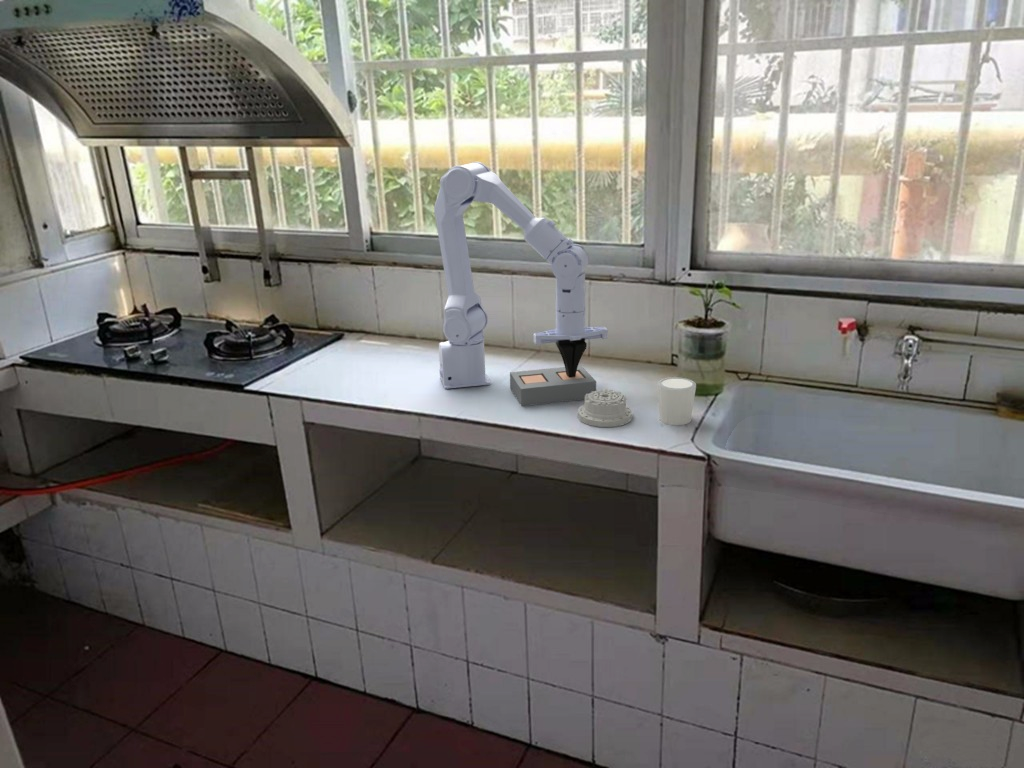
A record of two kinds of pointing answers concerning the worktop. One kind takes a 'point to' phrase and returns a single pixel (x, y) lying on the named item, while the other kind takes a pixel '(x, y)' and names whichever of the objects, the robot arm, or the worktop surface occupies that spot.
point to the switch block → (551, 386)
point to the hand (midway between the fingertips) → (570, 375)
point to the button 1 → (532, 379)
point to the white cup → (676, 400)
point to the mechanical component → (605, 409)
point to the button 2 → (565, 377)
